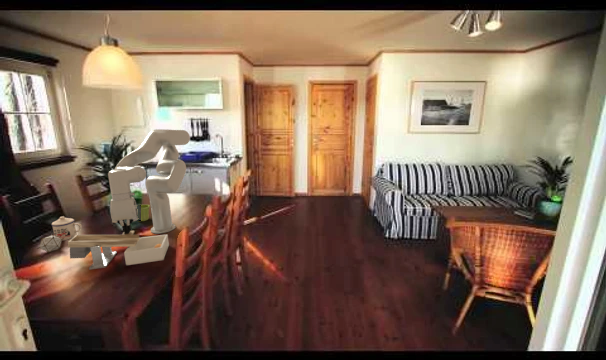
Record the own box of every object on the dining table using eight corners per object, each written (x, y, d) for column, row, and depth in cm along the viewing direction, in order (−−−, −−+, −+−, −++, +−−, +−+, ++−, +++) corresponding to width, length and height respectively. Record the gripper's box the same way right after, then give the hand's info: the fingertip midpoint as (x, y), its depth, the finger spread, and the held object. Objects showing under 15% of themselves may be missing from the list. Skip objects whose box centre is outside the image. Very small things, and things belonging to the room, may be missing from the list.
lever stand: (101, 254, 123) (98, 236, 121) (116, 252, 125) (113, 234, 122) (89, 269, 111) (85, 249, 109) (106, 267, 113) (102, 247, 110)
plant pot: (130, 221, 163) (128, 207, 161) (145, 216, 171) (143, 203, 169) (139, 223, 159) (137, 210, 157) (154, 218, 167) (152, 205, 165)
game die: (49, 260, 125) (26, 249, 119) (57, 246, 132) (37, 235, 126) (64, 251, 125) (42, 239, 119) (72, 238, 132) (52, 226, 125)
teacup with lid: (51, 242, 135) (46, 221, 132) (60, 235, 144) (56, 215, 141) (79, 239, 139) (74, 218, 136) (86, 232, 147) (83, 212, 145)
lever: (85, 242, 125) (85, 227, 123) (143, 241, 132) (143, 227, 131) (67, 259, 110) (67, 242, 108) (134, 257, 118) (134, 241, 116)
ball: (161, 240, 125) (166, 247, 127) (153, 245, 125) (158, 251, 126) (159, 244, 122) (164, 251, 123) (151, 249, 121) (156, 255, 122)
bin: (135, 249, 128) (133, 238, 126) (168, 245, 132) (167, 234, 131) (126, 265, 114) (124, 252, 113) (163, 259, 118) (161, 247, 117)
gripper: (142, 192, 128) (146, 227, 132) (106, 195, 124) (112, 231, 128) (137, 196, 121) (143, 233, 125) (99, 199, 117) (106, 237, 121)
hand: (127, 232), depth 127 cm, fingers closed
